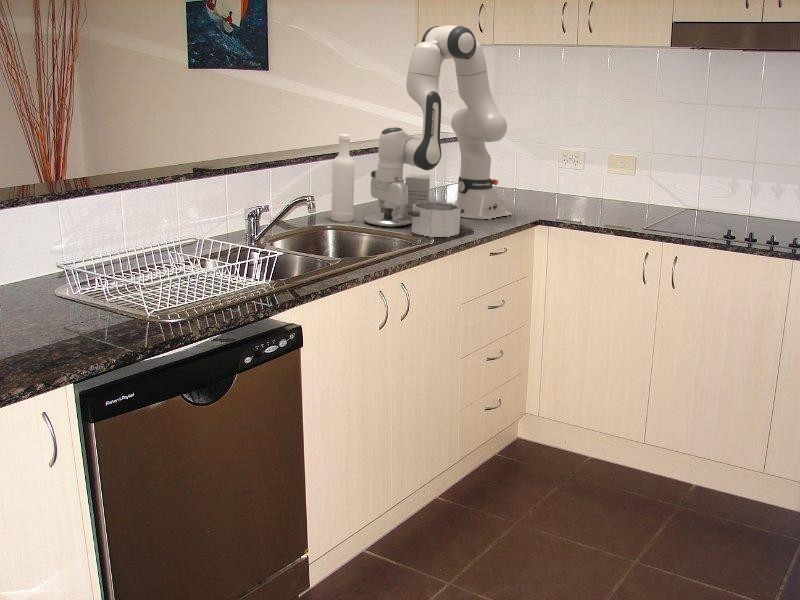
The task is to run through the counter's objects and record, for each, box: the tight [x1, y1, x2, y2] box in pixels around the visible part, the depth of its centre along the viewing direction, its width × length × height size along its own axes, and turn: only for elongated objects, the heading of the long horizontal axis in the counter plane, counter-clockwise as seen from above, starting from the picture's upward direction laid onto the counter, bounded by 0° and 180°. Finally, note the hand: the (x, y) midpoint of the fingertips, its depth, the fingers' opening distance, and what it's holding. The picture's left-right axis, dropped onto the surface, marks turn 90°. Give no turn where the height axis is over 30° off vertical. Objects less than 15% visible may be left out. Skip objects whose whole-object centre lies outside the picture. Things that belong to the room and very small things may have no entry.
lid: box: [363, 207, 412, 228], centre depth 310 cm, size 17×17×6 cm
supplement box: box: [403, 173, 431, 218], centre depth 322 cm, size 9×9×15 cm
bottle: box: [330, 133, 356, 223], centre depth 308 cm, size 8×8×30 cm
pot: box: [408, 201, 464, 238], centre depth 299 cm, size 20×16×9 cm
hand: (388, 214), depth 310 cm, fingers open, 7 cm apart
